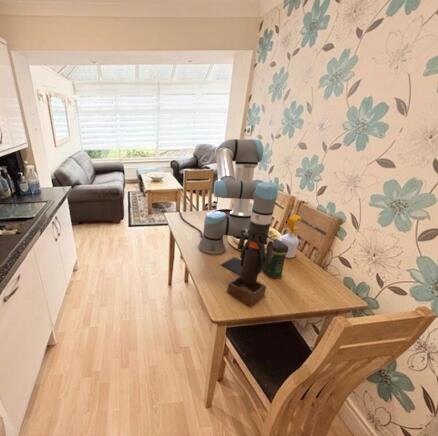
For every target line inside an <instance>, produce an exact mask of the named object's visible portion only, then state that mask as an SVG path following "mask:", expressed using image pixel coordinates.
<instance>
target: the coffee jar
mask: <svg viewBox="0 0 438 436" xmlns="http://www.w3.org/2000/svg"><path fill="white" fill-rule="evenodd" d="M270 239H271V240H275V243H274V244H273V249H272V257H271V261H270V262H268V263H266V262H265V266H264V268H262V269H261V271H262V272H263V273H264V274H265V275H266V276H267V277H269V278H273V279H278V278H281V277H282V276H283V275H282V274H283V270H284V264H285V259H286V257H285V256H286V254H287V253H288V246H287V245H286V244H284V243H283V242H282V241H280V240H281V239H279V238H270ZM267 245H268V244H267V243H266V246H267Z"/></svg>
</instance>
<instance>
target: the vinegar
mask: <svg viewBox="0 0 438 436" xmlns="http://www.w3.org/2000/svg"><path fill="white" fill-rule="evenodd" d="M261 244H262V243H261ZM259 261H260V253H259V247H258V244H257V243H256V242H254V241H250V243H249V247H248V248H247V249H246V250H245V255H244V260H243V265H242V271H241V276H240V275H239V276H240V279H241V280H242V281H243V282H244V283H246V284H254V283H256V281H258V276H259V274H258V275H257V274H256V270H257V266H258V262H259Z"/></svg>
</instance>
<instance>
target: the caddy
mask: <svg viewBox="0 0 438 436" xmlns="http://www.w3.org/2000/svg"><path fill="white" fill-rule="evenodd" d="M240 276H241V275H238V276H237V277H235V278H234V279H232V280H231V281H230V282H228V285H227V291H226V292H227V294H229V295H231V296H232V297H234V298H235V299H237V300H238V301H240V302H241V303H242V304H244V305H246V306H248V307H249V308H251V307H252V306H253V305H255V303H257V302H258V301H260V299H262V298H263V297H265V293H266V289H267V285H265V284H263V283H261V282H260V281H258V280H257V281H256V283H254V284H246V283H244V282H243V281H242V280H241V279H240ZM240 286H244V287H246V288H248V289H249V290H251V291H253V293H248V292H247V291H245V290H243V288H241V287H240Z"/></svg>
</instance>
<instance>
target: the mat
mask: <svg viewBox="0 0 438 436" xmlns="http://www.w3.org/2000/svg"><path fill="white" fill-rule="evenodd" d="M240 265H241V259H239V258H237V257H233V258H230V259H229V260H227V261H225V262H223V263H222V264H221V266H222V267H224V268H225V269H227V270H229V271H231V272H232V273H234V274H236V275H238V276H240V275H241V271H242V266H240Z"/></svg>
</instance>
